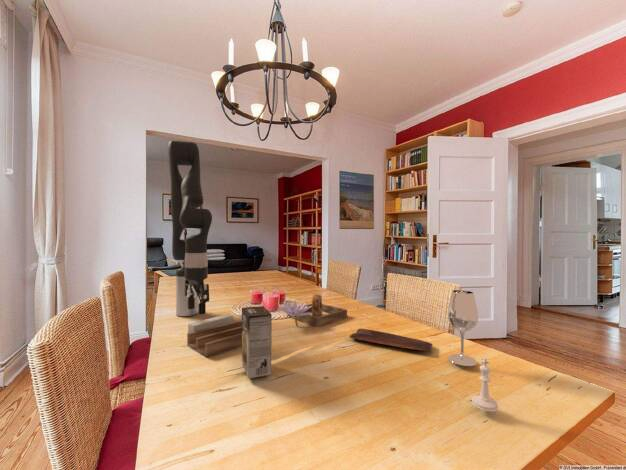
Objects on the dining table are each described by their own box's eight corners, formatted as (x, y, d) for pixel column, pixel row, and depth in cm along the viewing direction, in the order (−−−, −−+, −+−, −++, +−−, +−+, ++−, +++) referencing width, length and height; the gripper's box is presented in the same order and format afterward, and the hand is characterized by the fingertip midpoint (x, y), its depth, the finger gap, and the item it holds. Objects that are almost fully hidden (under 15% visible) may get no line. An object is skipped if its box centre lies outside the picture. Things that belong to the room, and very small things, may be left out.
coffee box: (241, 364, 84) (241, 307, 84) (263, 360, 86) (263, 305, 86) (247, 379, 76) (247, 315, 75) (272, 374, 78) (272, 313, 78)
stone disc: (319, 321, 124) (319, 297, 124) (310, 321, 125) (310, 297, 125) (323, 314, 135) (323, 292, 135) (315, 314, 135) (315, 292, 135)
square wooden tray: (287, 317, 130) (287, 309, 130) (316, 309, 143) (316, 302, 143) (318, 327, 117) (318, 318, 117) (347, 317, 130) (347, 309, 130)
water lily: (319, 322, 123) (319, 300, 123) (306, 334, 109) (306, 309, 109) (286, 319, 128) (286, 298, 128) (270, 330, 114) (270, 306, 114)
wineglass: (474, 357, 89) (475, 290, 89) (480, 368, 82) (480, 295, 81) (446, 353, 91) (446, 288, 91) (448, 364, 84) (449, 293, 84)
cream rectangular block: (188, 341, 102) (188, 323, 102) (227, 329, 115) (227, 313, 115) (193, 343, 100) (193, 325, 100) (233, 331, 113) (233, 315, 113)
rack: (187, 345, 98) (187, 333, 98) (240, 331, 112) (240, 320, 112) (206, 357, 88) (206, 344, 88) (262, 340, 103) (262, 328, 103)
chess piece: (467, 398, 67) (467, 354, 67) (488, 397, 67) (488, 353, 67) (480, 412, 62) (481, 363, 62) (503, 411, 62) (504, 363, 62)
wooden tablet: (434, 339, 99) (429, 346, 90) (433, 346, 99) (429, 353, 90) (358, 327, 112) (348, 332, 104) (358, 333, 112) (347, 338, 103)
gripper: (177, 264, 107) (177, 309, 107) (194, 268, 97) (195, 318, 97) (197, 262, 112) (197, 305, 113) (216, 266, 102) (216, 313, 103)
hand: (196, 311), depth 105 cm, fingers open, 8 cm apart
